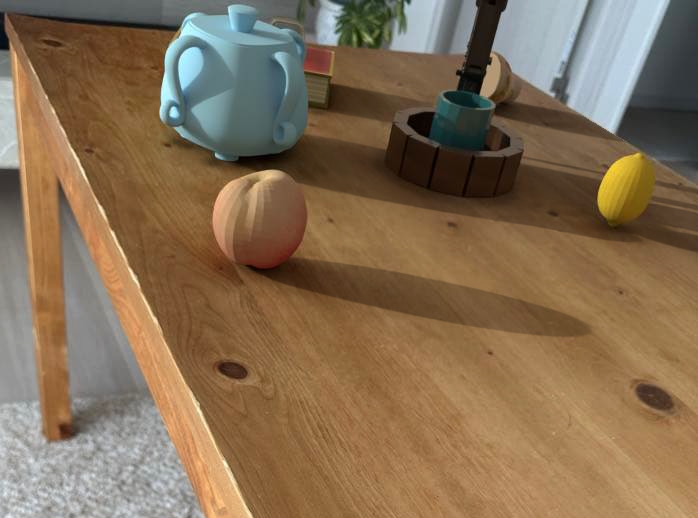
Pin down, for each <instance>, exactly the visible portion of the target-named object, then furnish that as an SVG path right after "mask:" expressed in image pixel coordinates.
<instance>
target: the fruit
mask: <svg viewBox="0 0 698 518" xmlns="http://www.w3.org/2000/svg"><path fill="white" fill-rule="evenodd" d="M308 218H309V217H308V208H307V201H306V198H305V194H304V193H303V190H302V188H301V187H300V185H299V184H298V183H297V182H296V180H294V179H293V177H291V176H290V175H289V174H288V173H287V172H284V171H281V170H279V169H266V170H265V169H264V170H260V171H257V172H251V173H249V174H247V175H244V176H241V177H238V178H236V179H232V180H231V181H230V182H228V183H227V184H226V185H225V186H224V187H223V188H222V189H221V190H220V192H219V193H218V196H217V197H216V200H215V203H214V205H213V212H212V229H213V233H214V236H215V239H216V242H217V244H218V246H219V247H220V249H221V251H222V252H223V254H224V255H225V256H226V257H227V258H228V259H229V260H230V261H231V262H233V263H234V264H236V265H238V266H239V265H240V266H252V267H254V268H257V269H263V270H264V269H265V270H266V269H272V268H275V267H278V266H279V265H281V264H284V262H286V261H287V260H289V259H290V258H291V257H292V256H293V255H294V253H296V251H297V250H298V248H299V247H300V245H301V243H302V241H303V239H304V235H305V232H306V228H307V225H308Z"/></svg>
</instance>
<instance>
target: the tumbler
mask: <svg viewBox="0 0 698 518" xmlns="http://www.w3.org/2000/svg"><path fill="white" fill-rule="evenodd" d="M435 108H436V110H435V114H434V118H433V122H432V126H431V130H430V135H429V139H430V140H433V141H435V142H437V143H440V144H442V145H447V146H451V147H456V148H461V149H465V150H470V151H483V149H484V146H485V142H486V139H487V135H488V132H489V128H490V125H491V121H493V117H494V114H495V110H496V105H495V103H494V102H493V101H492V100H490V99H488V98H486V97H484V96H481V95H478V94H475V93H472V92H467V91H462V90H456V89H444V90H442V91H439V93H438V97H437V102H436V105H435Z"/></svg>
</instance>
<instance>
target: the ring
mask: <svg viewBox="0 0 698 518" xmlns="http://www.w3.org/2000/svg"><path fill="white" fill-rule="evenodd" d="M435 110H436V107H432V106H431V107H429V106H428V107H427V106H413V107H409V108H406V109H401V110H398V111H397V112H395V114H394V117H393V120H392V124H391V128H390V133H389V140H388V142H387V147H386V153H385V158H384V163H385V164H386V165H387V166H388V167H389V169H391V170H392V171H393V172H394V173H395V174H396V175H397V176H399V177H400V178H401V179H404V180H406V181H408V182H410V183H413V184H416V185H417V186H420V187H422V188H424V189H428V188H429V190H430V191H434V192H438V193H442V194H443V193H444V194H448V195H453V196H457V197H462V196H463V197H464V198H493V197H497V196H500V195H503V194H505V193H508V192H510V191H511V190H512V189H513V186H514V183H515V180H516V178H517V173H518V170H519V167H520V165H521V162H522V158H523V155H524V151H525V141H524V139H523V138H522V137H521V136H520V135H519V134H517V133H516V132H515V131H514V130H512V129H511V128H510V127H508V126H505V125H504V124H502V123H500V122H497V121H495V120H492V121H491V125H490V128H489V132H488V135H487V139H486V142H485V146H484V149H483V151H470V150H465V149H461V148H456V147H451V146H447V145H442V144H440V143H437V142H435V141H433V140H430V139H429V135H430V130H431V126H432V122H433V118H434V114H435Z"/></svg>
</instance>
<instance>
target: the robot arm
mask: <svg viewBox="0 0 698 518" xmlns="http://www.w3.org/2000/svg"><path fill="white" fill-rule="evenodd" d="M508 3H509V0H475V6H476V8H477V9H476V13H475V17H474V20H473V24H472V29H471V32H470V36H469V41H467V44H466V51H465V52H464V61H463V62H462V65H461V69H458V68H457V69H456V71H455V76H457V77H458V80H459V81H457V86H456V89H455V90H462V91H467V92H472V93H475V94H478V95H480V92H481V88H482V84H483V81H484V78H485V76H486V73H487V71H486V69H487V65H491V63H492V58H493V57H490V54H491V51H493V46H494V42H495V39H496V35H497V32H498V28H499V24H500V20H501V16H502V13H504V12H505V11H506V9H507V6H508ZM459 76H460V77H459Z"/></svg>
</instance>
